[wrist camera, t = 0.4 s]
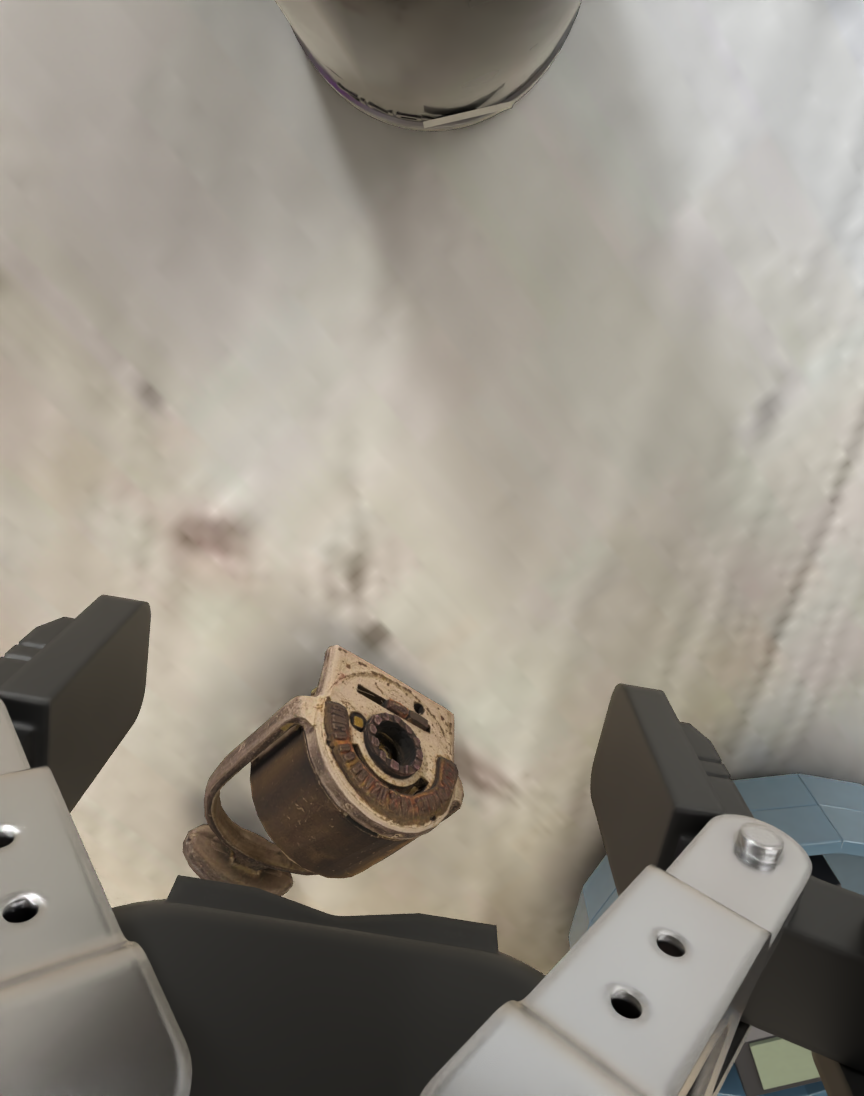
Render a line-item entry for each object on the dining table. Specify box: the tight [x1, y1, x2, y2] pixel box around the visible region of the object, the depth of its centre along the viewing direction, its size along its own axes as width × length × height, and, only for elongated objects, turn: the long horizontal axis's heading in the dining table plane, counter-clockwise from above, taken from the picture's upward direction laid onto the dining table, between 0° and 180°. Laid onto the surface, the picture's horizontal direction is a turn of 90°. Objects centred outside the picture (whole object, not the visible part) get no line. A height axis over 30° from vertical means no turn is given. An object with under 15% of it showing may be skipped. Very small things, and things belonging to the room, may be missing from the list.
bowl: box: [569, 773, 864, 1096], centre depth 35 cm, size 17×17×5 cm
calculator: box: [734, 855, 842, 1096], centre depth 35 cm, size 10×6×3 cm, turn 20°
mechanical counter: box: [183, 645, 464, 896], centre depth 32 cm, size 7×13×10 cm
